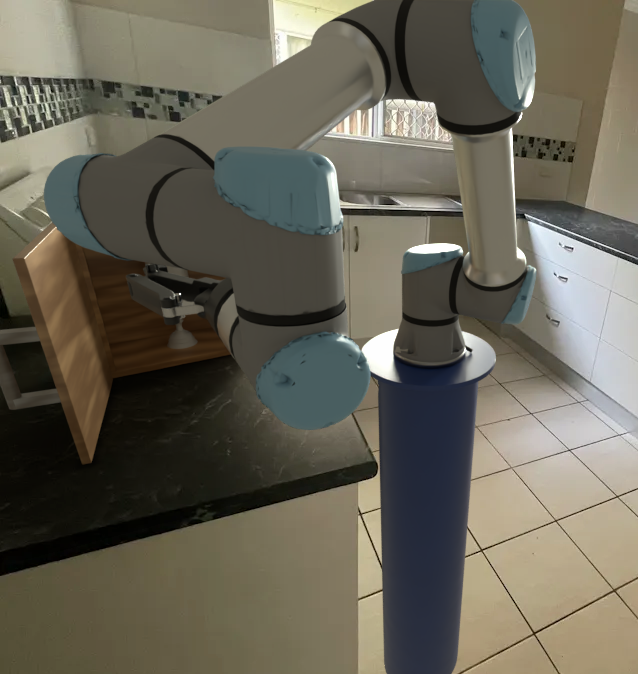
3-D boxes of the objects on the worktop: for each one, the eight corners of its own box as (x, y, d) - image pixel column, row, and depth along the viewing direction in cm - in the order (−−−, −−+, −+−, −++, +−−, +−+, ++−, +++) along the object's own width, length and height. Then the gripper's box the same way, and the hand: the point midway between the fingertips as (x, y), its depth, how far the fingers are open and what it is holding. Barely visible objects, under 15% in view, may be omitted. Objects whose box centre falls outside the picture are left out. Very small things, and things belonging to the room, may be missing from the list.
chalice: (209, 336, 98) (193, 250, 91) (196, 350, 92) (179, 260, 85) (168, 336, 96) (149, 249, 89) (153, 351, 90) (132, 259, 83)
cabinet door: (28, 476, 60) (-58, 261, 49) (66, 386, 79) (9, 216, 67) (91, 462, 63) (24, 258, 52) (113, 379, 82) (67, 215, 71)
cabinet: (260, 348, 98) (241, 208, 86) (109, 379, 82) (62, 213, 71) (241, 325, 107) (221, 196, 95) (102, 349, 92) (59, 198, 80)
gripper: (120, 387, 38) (98, 302, 53) (373, 332, 52) (300, 277, 67) (96, 301, 35) (80, 236, 50) (371, 267, 49) (295, 224, 64)
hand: (206, 259), depth 59 cm, fingers open, 10 cm apart
